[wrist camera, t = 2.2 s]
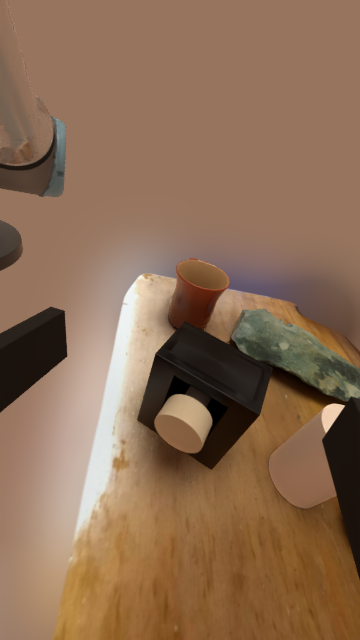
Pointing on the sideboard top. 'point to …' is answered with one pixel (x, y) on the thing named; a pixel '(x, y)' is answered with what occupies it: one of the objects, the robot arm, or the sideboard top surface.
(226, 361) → the control box
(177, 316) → the mug
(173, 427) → the knob
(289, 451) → the candle
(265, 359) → the decorative stone
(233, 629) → the sideboard top surface
